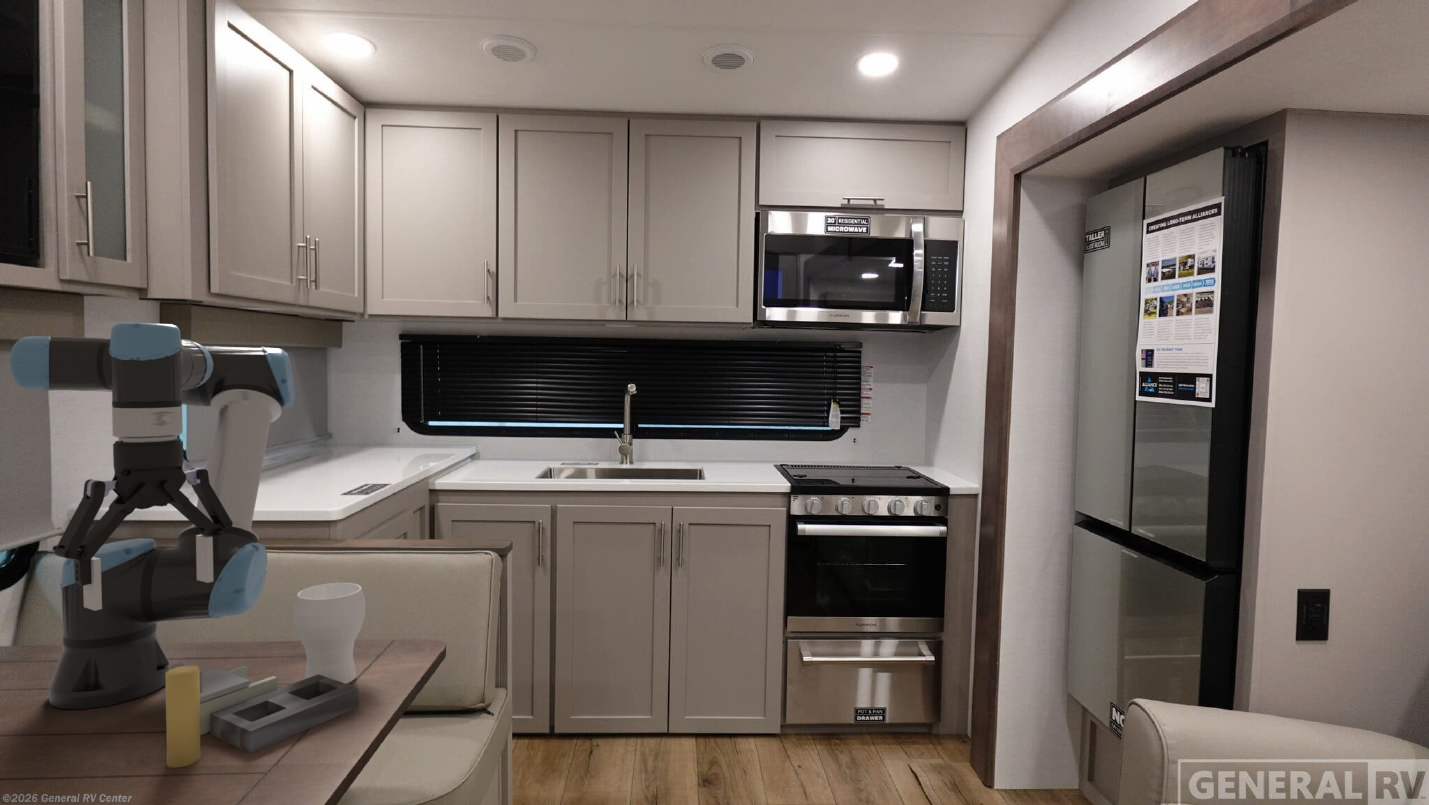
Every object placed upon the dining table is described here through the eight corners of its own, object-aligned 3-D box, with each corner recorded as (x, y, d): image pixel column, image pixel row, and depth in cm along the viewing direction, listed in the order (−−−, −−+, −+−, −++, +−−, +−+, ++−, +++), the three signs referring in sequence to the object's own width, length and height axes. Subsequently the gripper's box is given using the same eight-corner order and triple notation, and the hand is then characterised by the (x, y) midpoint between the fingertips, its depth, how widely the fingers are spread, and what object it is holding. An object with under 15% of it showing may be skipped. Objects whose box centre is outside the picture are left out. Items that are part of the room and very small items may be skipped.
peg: (161, 763, 97) (160, 672, 97) (191, 751, 101) (190, 663, 100) (175, 770, 96) (174, 678, 95) (206, 758, 99) (205, 669, 98)
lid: (165, 689, 109) (165, 663, 109) (216, 672, 115) (216, 648, 115) (198, 703, 105) (198, 676, 104) (250, 685, 111) (249, 660, 111)
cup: (336, 696, 118) (335, 602, 117) (278, 690, 120) (277, 597, 119) (379, 670, 128) (378, 584, 128) (325, 665, 130) (324, 579, 130)
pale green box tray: (166, 720, 109) (165, 690, 109) (244, 692, 119) (243, 665, 119) (198, 735, 105) (198, 705, 105) (277, 705, 114) (276, 677, 114)
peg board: (210, 734, 105) (210, 713, 105) (318, 692, 119) (318, 674, 119) (250, 753, 100) (250, 731, 100) (358, 707, 114) (358, 688, 114)
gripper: (47, 449, 87) (52, 627, 89) (258, 432, 110) (260, 574, 111) (16, 445, 91) (22, 616, 92) (227, 429, 113) (229, 567, 114)
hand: (152, 594), depth 101 cm, fingers open, 13 cm apart
